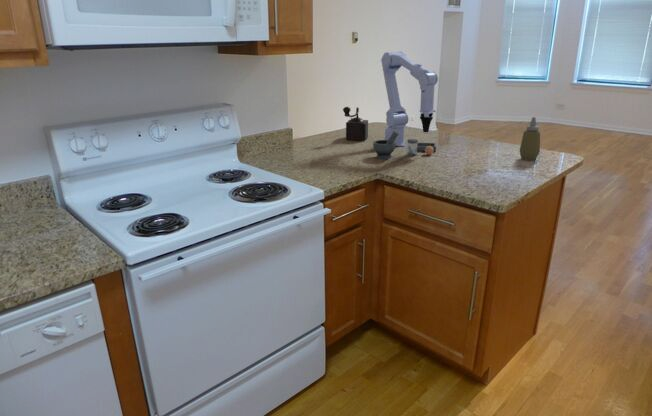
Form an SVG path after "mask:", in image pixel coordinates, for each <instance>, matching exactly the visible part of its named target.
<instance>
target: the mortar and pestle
mask: <svg viewBox="0 0 652 416" xmlns="http://www.w3.org/2000/svg"><path fill="white" fill-rule="evenodd" d="M398 135H399V133H398V132H396V131H393V134H392V135H391V137H390V138H389V139H388V140H385V139H379V140H374V141H373V144H372V145H373V150H374V151H375V153H376V154H377V155H376V158H377V159H380V160H387V159H388V158H389V159H391V158H390V157H392V154H393V152H394V151H395V149H396V146H395V142H394V141H395V139H396V137H397V136H398Z"/></svg>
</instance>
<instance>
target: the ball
mask: <svg viewBox="0 0 652 416" xmlns="http://www.w3.org/2000/svg"><path fill="white" fill-rule="evenodd" d="M433 151H434V149H433V147H431V146H427V147H426V148H425V152H424V153H425V154H426V155H428V156H430V155H432V154H433V153H434V152H433Z"/></svg>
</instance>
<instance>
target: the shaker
mask: <svg viewBox="0 0 652 416" xmlns="http://www.w3.org/2000/svg"><path fill="white" fill-rule="evenodd" d="M417 143H419V140H418V139H415V138H409V139H407V149H406V150H407V151H406V154H407V155H406V156H409V157H416V156H417V155H418V151H417Z"/></svg>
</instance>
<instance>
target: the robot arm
mask: <svg viewBox="0 0 652 416" xmlns="http://www.w3.org/2000/svg"><path fill="white" fill-rule="evenodd" d="M380 61H381V67H382V71H383V77H384V84H385V88H386V94H387V99H388V105H389V108H388V110H387V111H386V113H385V114H386V118H385V121H386V125H387V126H385V131H384V140H388V139H389V138H390V137H391V135H392V134H393V131H396V132H398V133H399V135H398V136H397V137H396V139H395V141H394V142H395V147H405V144H406V142H405V127H406V125H407V124H408V122H409V115H408V114H407V111H406V109H405V108H404V107H403V106H402V105H401V99H400V93H399V88H398V82H397V78H396V77H397V76H396V73H397V71H399V70H400V69H401V67H404V68H405V69H406V70H408V71H410V73H409V74H410V75H411V77H413V78H414V79H416V80H417V81H418V84H419V88H420V106H419V107H420V110H419V112H420V116H419V118H420V121H421V125H422V132H423V133H429V131H430V127H431V123H432V120H433V119H434V116H433V114H434V113H436V112H437V110H436V109H434V106H435V105H434V104H435V86H436V85H437V83H438V79H439V78H438V75H437V73H436V72H435V71H429V69H426V68H425V67H423V65H422V64H421V63H414V62H413V61H412V60H411V59H409V57H407V55H406V53H404V52H403V51H395V52H392V51H391V52H388V51H387V52H384V53H383V54H382V58H381V59H380Z"/></svg>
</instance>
